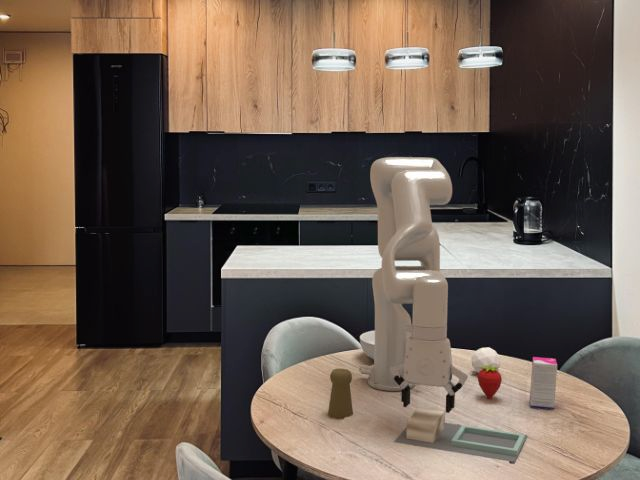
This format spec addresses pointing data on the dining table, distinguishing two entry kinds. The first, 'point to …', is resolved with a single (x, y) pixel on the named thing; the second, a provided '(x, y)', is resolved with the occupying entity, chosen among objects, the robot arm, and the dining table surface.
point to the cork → (340, 394)
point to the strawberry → (489, 380)
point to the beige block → (425, 424)
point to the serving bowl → (368, 343)
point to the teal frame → (486, 447)
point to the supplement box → (543, 383)
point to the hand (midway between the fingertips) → (427, 408)
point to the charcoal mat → (450, 431)
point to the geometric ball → (485, 359)
